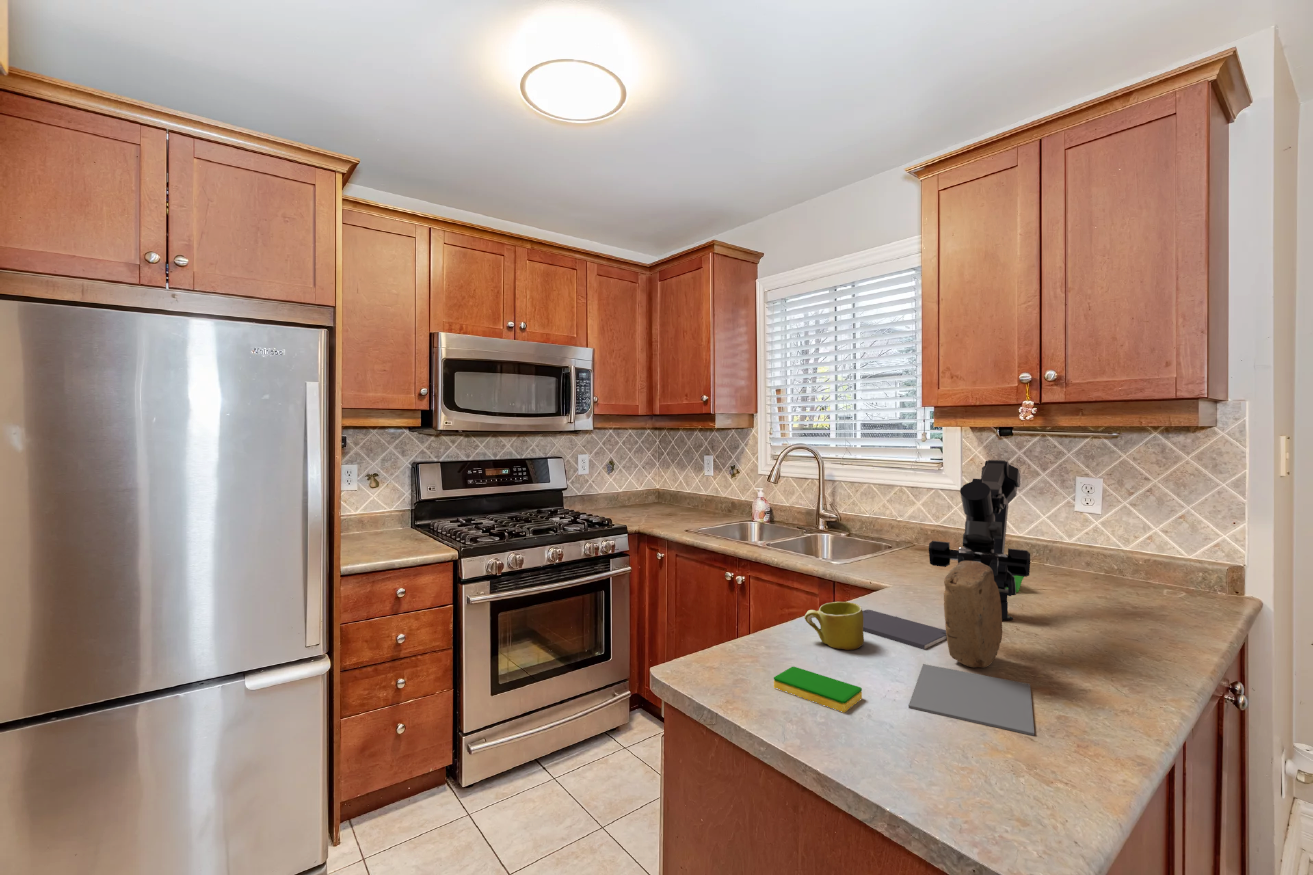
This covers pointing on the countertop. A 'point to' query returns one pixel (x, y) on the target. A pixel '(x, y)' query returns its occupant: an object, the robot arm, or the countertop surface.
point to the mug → (839, 624)
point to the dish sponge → (818, 688)
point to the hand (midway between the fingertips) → (975, 590)
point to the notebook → (901, 630)
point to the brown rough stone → (972, 614)
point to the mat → (974, 698)
